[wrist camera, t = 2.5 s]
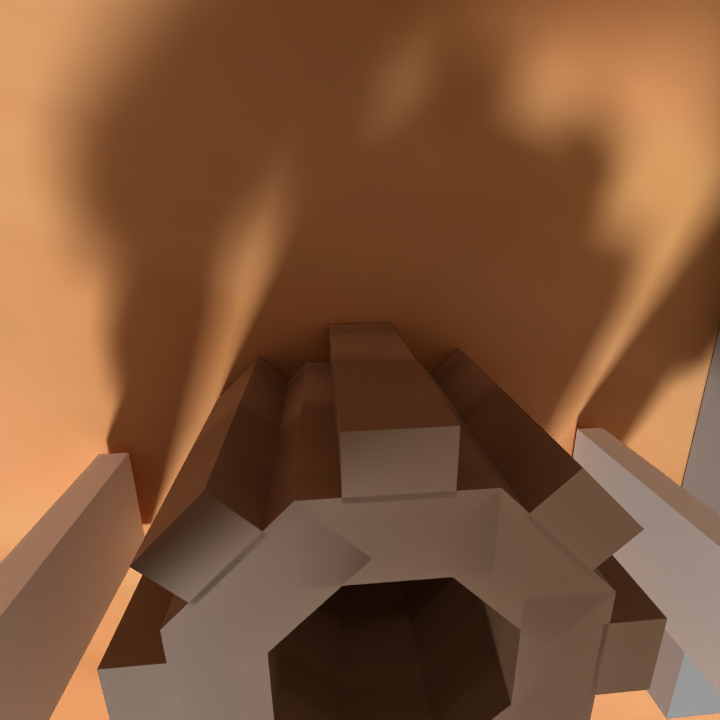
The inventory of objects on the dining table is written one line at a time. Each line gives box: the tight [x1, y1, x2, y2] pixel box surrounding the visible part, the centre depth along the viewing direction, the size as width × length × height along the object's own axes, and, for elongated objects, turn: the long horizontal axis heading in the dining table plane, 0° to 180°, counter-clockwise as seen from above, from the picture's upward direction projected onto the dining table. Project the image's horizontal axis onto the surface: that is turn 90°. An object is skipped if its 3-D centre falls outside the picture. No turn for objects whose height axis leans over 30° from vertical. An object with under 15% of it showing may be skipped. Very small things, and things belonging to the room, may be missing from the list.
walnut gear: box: [97, 323, 667, 720], centre depth 10 cm, size 9×9×6 cm
